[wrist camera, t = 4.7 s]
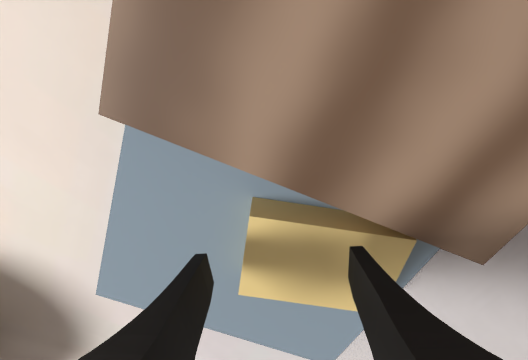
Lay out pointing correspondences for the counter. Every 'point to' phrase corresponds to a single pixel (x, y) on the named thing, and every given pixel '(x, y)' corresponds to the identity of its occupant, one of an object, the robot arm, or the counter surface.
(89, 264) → the counter surface
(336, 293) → the yellow flat block
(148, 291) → the mat
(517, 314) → the counter surface
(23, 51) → the counter surface
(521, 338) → the counter surface
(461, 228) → the brown wooden board
